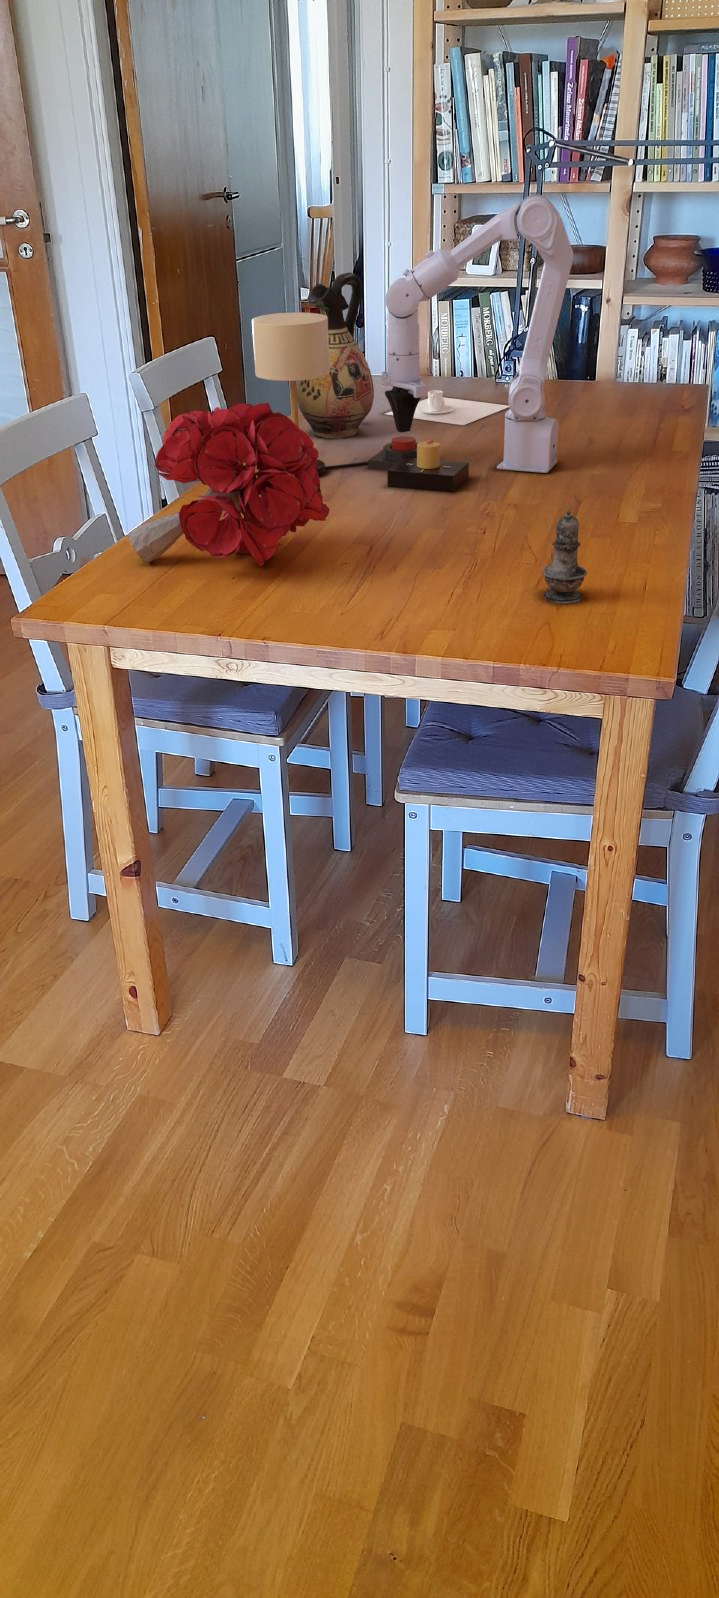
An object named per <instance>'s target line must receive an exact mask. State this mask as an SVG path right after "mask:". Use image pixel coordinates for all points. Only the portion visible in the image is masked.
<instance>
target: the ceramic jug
mask: <svg viewBox="0 0 719 1598" xmlns="http://www.w3.org/2000/svg"><path fill="white" fill-rule="evenodd" d="M346 285H347V286H350V287H351V293H350V294H351V295H350V300H349V303H348V302H347V300H346V297H345V296H344V295H343V294H342V293H343V290H342V289H343V287H345V286H346ZM362 294H363V284H362V280H361V279H360V277H359V276H358V275H356V274H355V273H353V272H344V273H340V274H339V275H337V276H336V277H335V278H334V280H333V282H332V286H331V287H330V286H328V287H327V286H325V285H323V284H322V283H317V284H315V285H314V286H313V287H312V288H311V290H310V291H309V293H308V295H307V302H308V303H307V304H308V305H310V306H311V307H315V308H317V309H319V310H321V311H323V312H325V313H326V316H327V317H328V339H329V367H330V372H329V374H327V375H325V376H323V377H319V378H315V379H308V380H298V381H297V403H298V410H299V411H300V413H301V414H302V417H303V418H304V419H305V420H306V422H307V423H308V425H309V426H310V428H311V430H312V435H313V436H314V437H315V438H324V439H343V438H349V437H352V436H355V435H356V434H357V433H358V431H359V427H360V425H361V424H362V422H364V420H365V418H367V416H368V415H370V412H371V410H372V408H373V405H374V399H375V389H374V380H373V376H372V372H371V368H370V367H369V363H368V361H367V359H366V356H365V355H364V353H363V352H362V349H361V348H360V346H359V345H358V343H357V342H356V340H355V324H356V322H357V318H358V312H359V308H360V305H361V301H362V296H363V295H362ZM345 310H347V313H346V316H345V317H344V312H343V311H345Z"/></svg>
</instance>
